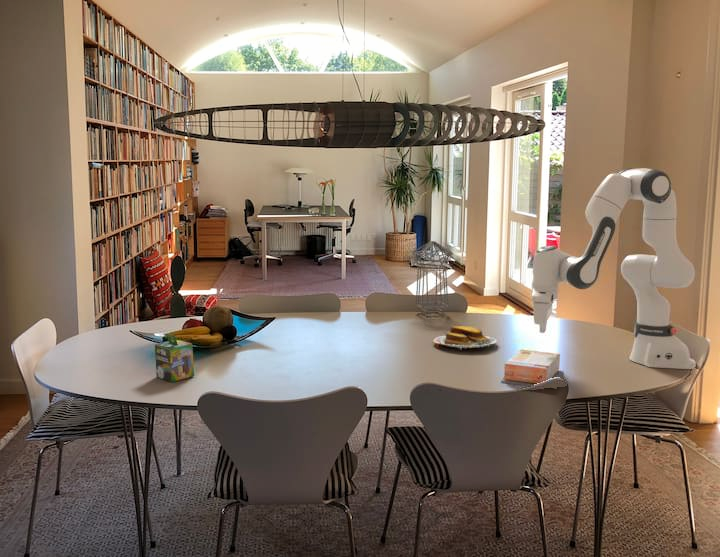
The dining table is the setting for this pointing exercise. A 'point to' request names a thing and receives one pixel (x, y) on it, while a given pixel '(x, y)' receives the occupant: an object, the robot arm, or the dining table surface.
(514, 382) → the mat
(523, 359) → the cracker box
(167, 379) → the chalk box
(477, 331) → the food on plate
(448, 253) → the geometric lantern
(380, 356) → the dining table surface
